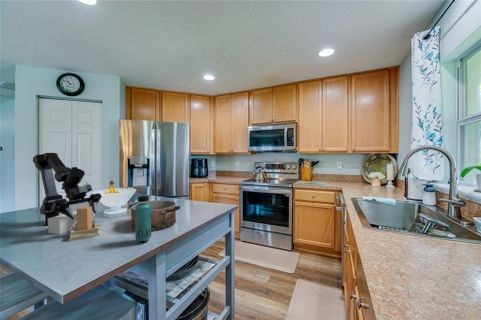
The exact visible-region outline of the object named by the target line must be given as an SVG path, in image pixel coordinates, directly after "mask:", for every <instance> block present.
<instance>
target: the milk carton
mask: <svg viewBox="0 0 481 320" xmlns="http://www.w3.org/2000/svg"><path fill="white" fill-rule="evenodd" d="M71 212H72V213H73V215H74V219H71V218H69V217H68V216H66V215H64V214H59V216H55V217H52V218H48V225H47V233H48V234H54V235H62V234H64V233H66V232H69V231H70V232H71V229H72V227H73V226H75V224H76V223H77V210H73V211H71ZM94 216H95V214H93V213H92V219H93V217H94Z"/></svg>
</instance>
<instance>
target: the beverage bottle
mask: <svg viewBox="0 0 481 320" xmlns="http://www.w3.org/2000/svg"><path fill="white" fill-rule="evenodd" d="M146 201H149V196H148V195H139V196H137V203H138V202H146ZM135 213H136V227H135V229H136V230H134V232H135V240H136V241H137V242H144V241H148V240H150V239H151V237H152V232H153V231H152V228H151V205H150V204H149V203H140V204H138V205H137V206H136V207H135Z"/></svg>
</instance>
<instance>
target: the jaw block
mask: <svg viewBox="0 0 481 320" xmlns="http://www.w3.org/2000/svg"><path fill="white" fill-rule="evenodd" d="M76 211H77V231H81V230H86V229H92V221H93V218H92V214H93V211H92V206H89V205H88V206H87V205H86V206H80V207H78V208H76Z"/></svg>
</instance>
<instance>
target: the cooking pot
mask: <svg viewBox="0 0 481 320" xmlns="http://www.w3.org/2000/svg"><path fill="white" fill-rule="evenodd" d="M140 203H149V204H150V205H151V228H152V232H158V231H162V230H166V229H168V228H170V227H171V228H172V226H175V224H176V222H177V211H178V210H180V209H181V206H180V205H177V203H176V201H174V200H169V199H166V200H165V199H158V200H155V199H154V200H148V201H146V202H138V201H137V202H135V203H131V204H129V206H128V207H129V208H130V210H131V211H130V212H131V213H130V215H131V217H130V218H131V219H130V220H131V226H130V227H131V229H132V230H134V231H136V229H135V227H136V213H135V207H136V206H137V205H138V204H140Z"/></svg>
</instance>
